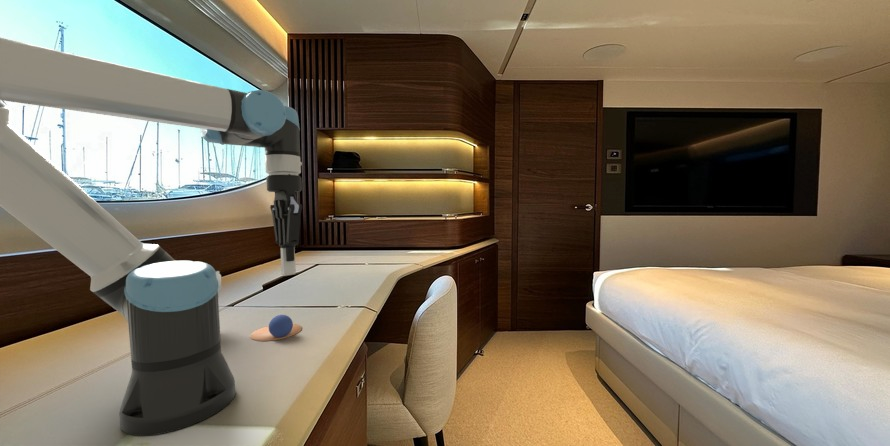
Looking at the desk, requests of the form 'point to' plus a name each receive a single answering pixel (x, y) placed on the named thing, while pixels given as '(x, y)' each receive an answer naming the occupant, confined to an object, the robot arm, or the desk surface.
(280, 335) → the ball
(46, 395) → the desk surface
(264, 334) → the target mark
